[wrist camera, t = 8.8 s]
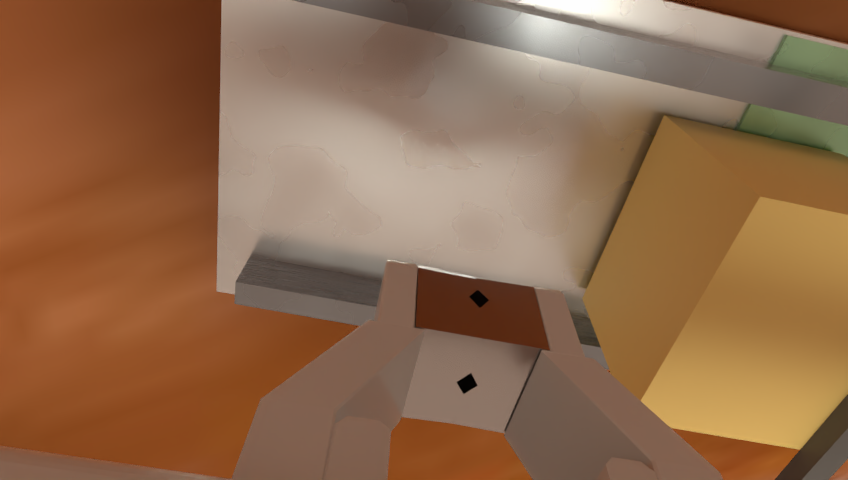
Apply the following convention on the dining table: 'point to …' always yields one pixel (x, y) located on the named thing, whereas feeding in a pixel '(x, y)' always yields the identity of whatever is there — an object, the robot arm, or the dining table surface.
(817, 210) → the block
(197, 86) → the dining table surface
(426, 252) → the track
